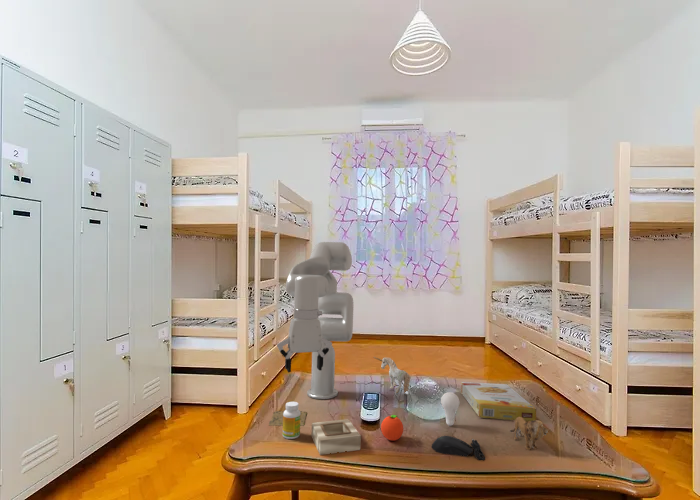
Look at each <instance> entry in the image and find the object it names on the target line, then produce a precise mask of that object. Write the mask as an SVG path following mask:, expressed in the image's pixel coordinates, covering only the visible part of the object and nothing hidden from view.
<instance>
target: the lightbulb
mask: <svg viewBox="0 0 700 500" xmlns="http://www.w3.org/2000/svg"><path fill="white" fill-rule="evenodd" d="M440 404H441V406H442V409H443V411H444V416H445V423H446V425H447V426H450V427H452V426H453V425H454V423H455V418H456V413H457V411H458V409H459V406H460V404H461V403H460V399H459V396H458V395H457V394H456V393H454V392H450V391H448V392H445V393H444V394H442V396H441V397H440Z"/></svg>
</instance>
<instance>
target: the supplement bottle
mask: <svg viewBox="0 0 700 500" xmlns="http://www.w3.org/2000/svg"><path fill="white" fill-rule="evenodd" d="M299 406H300V405H299V402H297V401H288V402H286V403H285V410H283V411H284V413H283V426H282V437H283V438H284V439H285V440H294V439H297V438H299V437H300V435H301V426H300V415H301V413H300V409H299Z"/></svg>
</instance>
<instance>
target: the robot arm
mask: <svg viewBox="0 0 700 500" xmlns="http://www.w3.org/2000/svg"><path fill="white" fill-rule="evenodd" d="M352 256H353V255H352V254H351V250H350V247H349V246H348V245H347V244H346V243H344V242H342V241H341V242H339V241H320V242H318V243H316V244H314V246H313V249H312V250H311V253H310V256H309V258H307V259H305V260H303V261H301V262H299V263H297V264H295V265H294V266H292V268H291V269H290V272H289V274H288V275H287V278H286V282H285V291H286V293H287V294H288V296H290V297H293V298H294V303H293V305H294V306H293V318H291V319H290V323H289V328H288V336H287V338H285V339H284V340H282V341H280V342H278V343H277V344H276V347H277V348H278V349H277V350H278V351H279V352H280V354H281V355H282V357H284V358H285V359H284V361H285V363H284V368H285V370H286V371H287V373H291V372H292V359H291V357H292V355H293V354H294V353H295V354H298V353H311V382H310V383H311V385H310V386H311V387H310V388H309V389H308V390H307V391H306V392H307V393H306V395H307V396H308V397H309V398H311V399H315V400H328V399H329V400H330V399H333V398H335V397H337V396H338V390H337V389H336V388H335V370H336V369H335V368H336V367H335V365H336V364H335V362H336V351H335V347H333V342H349V341H351V339H352V337H353V333H354V332H353V327H354V298H353V295H352V294H351V293H349V292H338V291H337V290H338V289H337V288H338V279H336V277H335V275H334V274H333V273H332V272H331V271H341V272H342V271H344V272H345V271H348V270H350V269H351V267H352V262H353V258H352ZM323 315H329V316H330V315H332V316H333V315H335V316H341V317H326V316H325V317H322V316H323ZM320 316H321V317H320ZM286 345H287V349H288V350H287V351H285V350H284V346H286Z"/></svg>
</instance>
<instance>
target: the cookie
mask: <svg viewBox="0 0 700 500" xmlns="http://www.w3.org/2000/svg"><path fill="white" fill-rule="evenodd" d="M284 411H285V410H283V411H282V410H277V411H276V410H275V411H274V412H273V414H272V416H271V419H270V421H268V422H269V423H268V426H270V427H271V426H272V427H274V426H275V427H283V413H284ZM300 413H301V415H300V427H304V426H305V424H306V419H307V414H308V411H303V410H301V411H300Z"/></svg>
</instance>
